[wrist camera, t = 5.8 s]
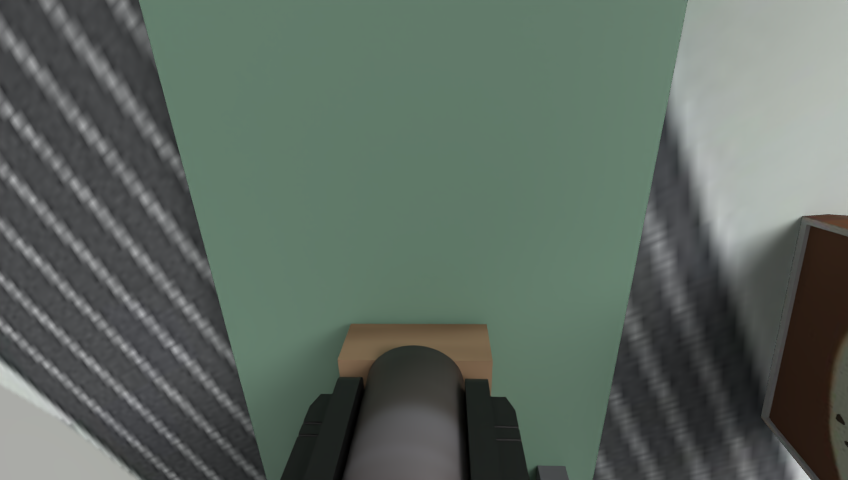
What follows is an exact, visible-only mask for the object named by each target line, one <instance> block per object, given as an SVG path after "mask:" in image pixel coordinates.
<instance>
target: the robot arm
mask: <svg viewBox="0 0 848 480" xmlns="http://www.w3.org/2000/svg"><path fill="white" fill-rule="evenodd" d="M363 393H364V381H363V378H362V377H339V378H338V379H337V382H336V385H335V387H334V390H333V393H332V394H320V395H319V396H318V398H317V399H316V400H315V401H314V402H313V403H312V404H311V405H310V406H309V409H308V411H307V414H306V416H305V419H304V421H303V424H302V426H301V429H300V431H299V435H298V437H297V439H296V441H295V444H294V446H293V449H292V451H291V454H290V456H289V459H288V461H287V464H286V466H285V469H284V471H283V474H282V476H281V479H280V480H342V477H343V473H344V469H345V465H346V461H347V457H348V453H349V449H350V445H351V441H352V437H353V433H354V429H355V425H356V421H357V417H358V413H359V409H360V405H361V401H362V397H363ZM464 396H465V413H466V430H467V447H468V464H469V480H530V479H529V474H528V469H527V465H526V460H525V455H524V450H523V445H522V442H521V435H520V430H519V425H518V420H517V416H516V411H515V409H514V408H513V406H512V405H511V403H510V402H509V401H508V399H507V398H506V397H491V396H490V389H489V382H488V379H465V383H464Z"/></svg>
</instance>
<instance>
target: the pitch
mask: <svg viewBox="0 0 848 480" xmlns="http://www.w3.org/2000/svg"><path fill="white" fill-rule="evenodd" d="M687 2H688V0H139V3H140V7H141V10H142V14H143V18H144V22H145V25H146V29H147V33H148V37H149V40H150V44H151V48H152V52H153V55H154V59H155V63H156V67H157V70H158V74H159V78H160V82H161V85H162V89H163V93H164V97H165V100H166V104H167V108H168V112H169V115H170V119H171V123H172V127H173V130H174V134H175V138H176V141H177V145H178V149H179V153H180V156H181V160H182V164H183V168H184V171H185V175H186V179H187V183H188V186H189V190H190V194H191V198H192V201H193V205H194V209H195V213H196V216H197V220H198V224H199V228H200V231H201V235H202V239H203V243H204V246H205V250H206V254H207V258H208V261H209V265H210V269H211V273H212V276H213V280H214V284H215V288H216V291H217V295H218V299H219V303H220V306H221V310H222V314H223V318H224V321H225V325H226V329H227V333H228V336H229V340H230V344H231V348H232V351H233V355H234V359H235V363H236V366H237V370H238V374H239V378H240V381H241V385H242V389H243V393H244V396H245V400H246V404H247V408H248V411H249V415H250V419H251V422H252V426H253V430H254V434H255V437H256V441H257V445H258V449H259V452H260V456H261V460H262V464H263V467H264V471H265V475H266V479H267V480H280V479H281V476H282V474H283V471H284V469H285V466H286V464H287V461H288V459H289V456H290V454H291V451H292V449H293V446H294V444H295V441H296V439H297V437H298V435H299V431H300V429H301V426H302V424H303V421H304V419H305V416H306V414H307V411H308V409H309V406H310V405H311V404H312V403H313V402H314V401H315V400H316V399H317V398H318V396H319V395H320V394H332V393H333V390H334V387H335V385H336V382H337V379H338V378H339V377H340V374H339V367H338V357H339V354H340V352H341V349H342V346H343V344H344V341H345V338H346V335H347V333H348V330H349V327H350V325H351V324H487V329H488V335H489V341H490V347H491V354H492V360H493V366H492V387H491V397H506V398H507V399H508V401H509V402H510V403H511V405H512V406H513V408H514V409H515V411H516V416H517V420H518V425H519V430H520V435H521V441H522V445H523V450H524V455H525V460H526V465H527V469H528V474H529V479H530V480H536V474H537V465H541V466H565V467H566V471H567V474H568V477H569V480H593V476H594V471H595V466H596V461H597V456H598V450H599V445H600V440H601V435H602V430H603V425H604V420H605V415H606V410H607V405H608V400H609V395H610V390H611V385H612V380H613V375H614V370H615V365H616V360H617V355H618V350H619V345H620V340H621V335H622V330H623V325H624V319H625V314H626V309H627V304H628V299H629V294H630V289H631V284H632V279H633V274H634V269H635V264H636V259H637V254H638V249H639V244H640V239H641V234H642V229H643V224H644V219H645V214H646V209H647V204H648V199H649V194H650V189H651V183H652V178H653V173H654V168H655V163H656V158H657V153H658V148H659V143H660V138H661V133H662V128H663V123H664V118H665V113H666V108H667V103H668V98H669V93H670V88H671V83H672V78H673V73H674V68H675V63H676V58H677V52H678V47H679V42H680V37H681V32H682V27H683V22H684V17H685V12H686V7H687Z"/></svg>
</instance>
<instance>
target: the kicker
mask: <svg viewBox="0 0 848 480" xmlns="http://www.w3.org/2000/svg"><path fill="white" fill-rule="evenodd" d="M492 366H493V360H492V354H491V347H490V341H489V335H488V329H487V324H351V325H350V327H349V330H348V333H347V335H346V338H345V341H344V344H343V346H342V349H341V352H340V354H339V357H338V367H339V374H340V377H362V378H363V381H364V393H363V397H362V401H361V405H360V409H359V413H358V417H357V421H356V425H355V429H354V433H353V437H352V441H351V445H350V449H349V453H348V457H347V461H346V465H345V469H344V473H343V477H342V480H469V464H468V447H467V430H466V413H465V396H464V383H465V379H488V382H489V389H490V396H491V387H492ZM521 442H522V441H521Z"/></svg>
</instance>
